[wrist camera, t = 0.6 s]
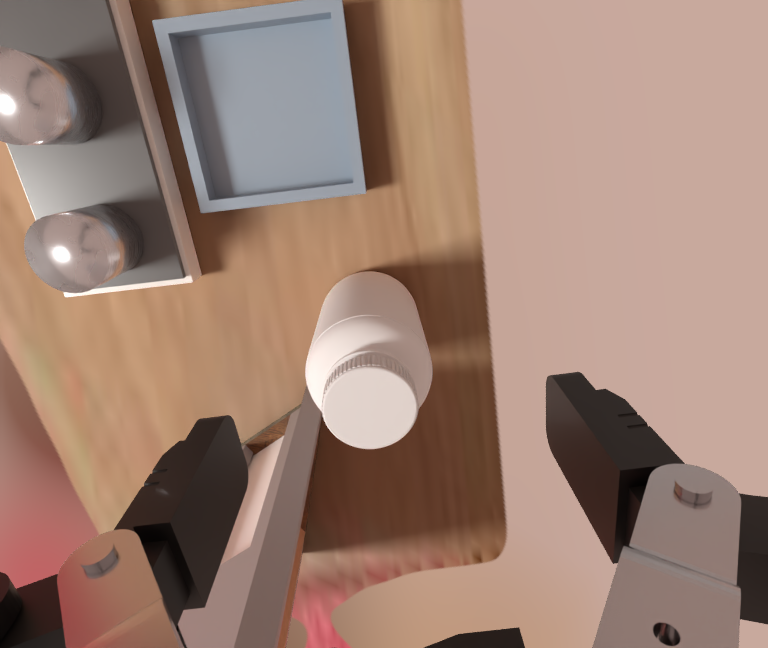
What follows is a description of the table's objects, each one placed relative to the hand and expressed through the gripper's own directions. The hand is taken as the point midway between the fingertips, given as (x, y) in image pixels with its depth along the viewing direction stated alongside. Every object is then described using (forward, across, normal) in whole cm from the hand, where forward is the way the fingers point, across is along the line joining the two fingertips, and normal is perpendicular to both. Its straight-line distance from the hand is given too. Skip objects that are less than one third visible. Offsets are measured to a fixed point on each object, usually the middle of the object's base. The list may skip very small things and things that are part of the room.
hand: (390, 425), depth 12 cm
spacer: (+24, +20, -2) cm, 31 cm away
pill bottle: (+27, +2, +7) cm, 28 cm away
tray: (+27, +6, -9) cm, 29 cm away
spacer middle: (+24, +19, -11) cm, 33 cm away
